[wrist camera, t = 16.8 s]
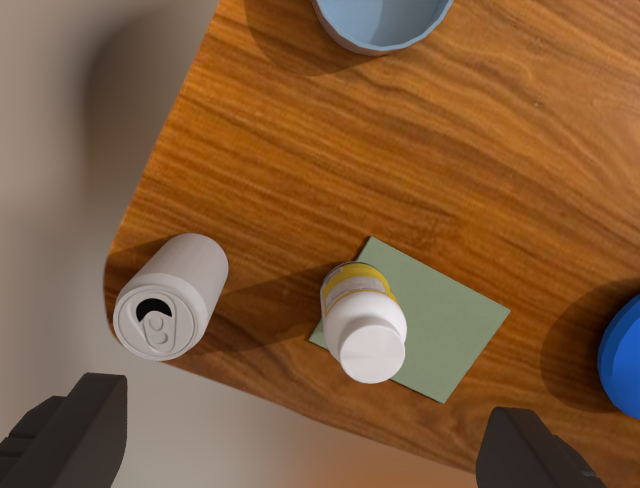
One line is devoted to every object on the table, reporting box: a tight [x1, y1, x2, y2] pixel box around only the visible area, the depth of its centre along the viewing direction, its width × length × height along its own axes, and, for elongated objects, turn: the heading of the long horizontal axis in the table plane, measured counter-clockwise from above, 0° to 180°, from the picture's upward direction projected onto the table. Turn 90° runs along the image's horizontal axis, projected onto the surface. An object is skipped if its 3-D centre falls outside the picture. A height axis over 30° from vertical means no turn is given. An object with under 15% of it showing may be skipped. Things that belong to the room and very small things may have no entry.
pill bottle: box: [320, 261, 407, 383], centre depth 37 cm, size 6×6×12 cm
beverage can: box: [113, 233, 228, 361], centre depth 36 cm, size 6×6×12 cm
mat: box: [309, 236, 510, 404], centre depth 44 cm, size 16×12×1 cm
